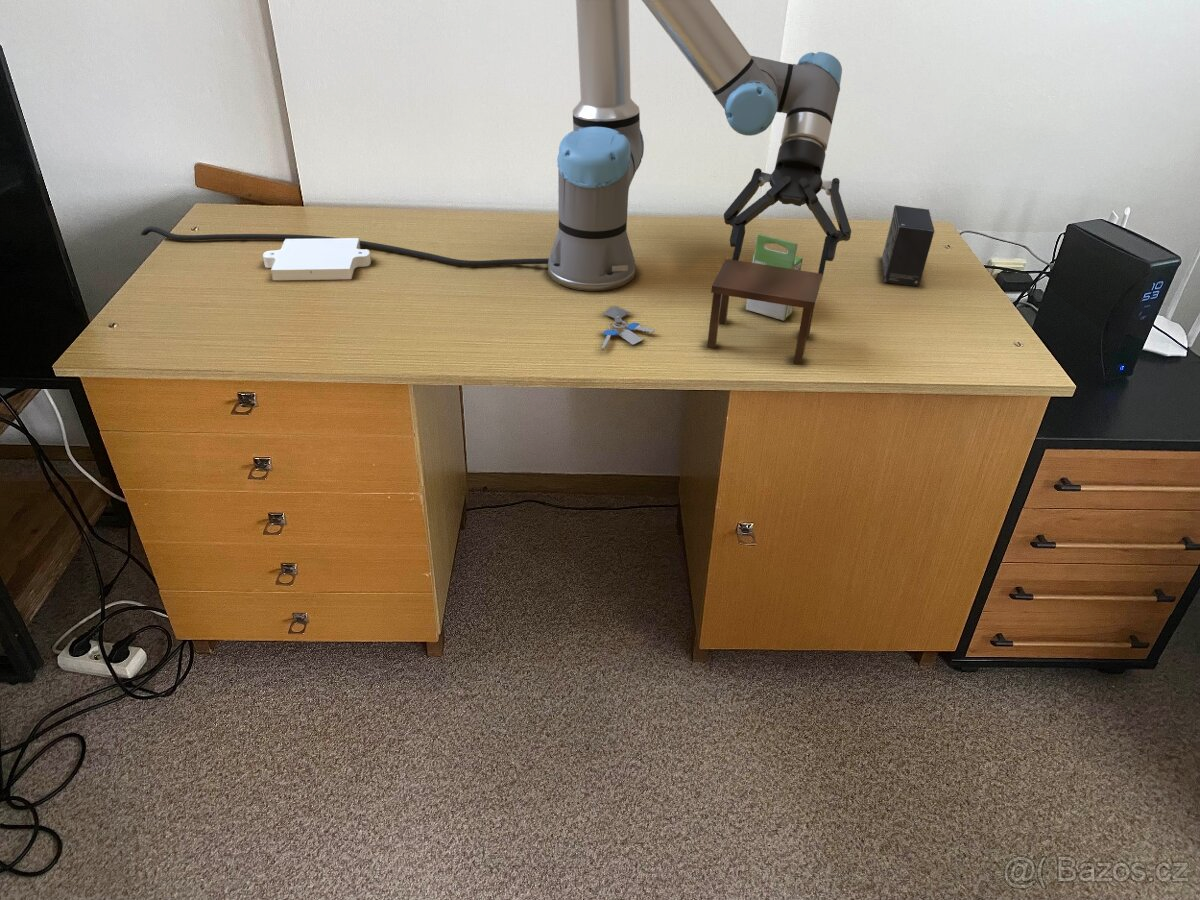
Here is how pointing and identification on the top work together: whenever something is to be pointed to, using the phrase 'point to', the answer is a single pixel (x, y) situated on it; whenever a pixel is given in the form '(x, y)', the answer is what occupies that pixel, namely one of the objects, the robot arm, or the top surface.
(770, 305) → the ink box
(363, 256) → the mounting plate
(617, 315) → the key chain
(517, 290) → the top surface
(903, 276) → the small box
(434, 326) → the top surface
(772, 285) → the side table
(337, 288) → the top surface
